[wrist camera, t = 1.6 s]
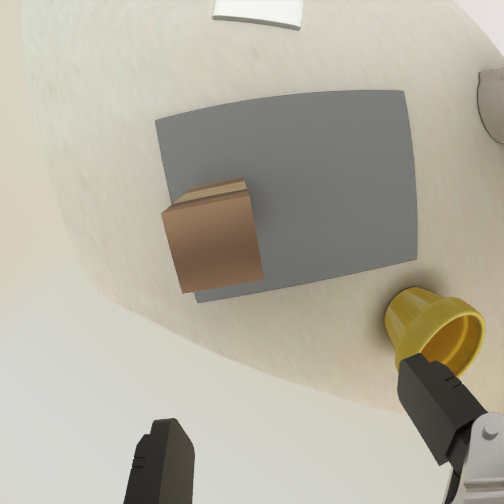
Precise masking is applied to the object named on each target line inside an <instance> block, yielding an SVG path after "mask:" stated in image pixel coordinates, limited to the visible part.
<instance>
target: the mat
mask: <svg viewBox="0 0 504 504" xmlns="http://www.w3.org/2000/svg"><path fill="white" fill-rule="evenodd" d="M155 124H156V129H157V135H158V140H159V145H160V151H161V156H162V161H163V166H164V171H165V175H166V180H167V185H168V189H169V194H170V198H171V203H172V204H173V203H174V202H175V201H177V200H178V199H179V198H180V197H181V196H183V195H184V194H185V193H186V192H187V191H189V190H190V189H191V188H192V187H195V186H200V185H204V184H209V183H214V182H219V181H224V180H229V179H235V178H240V177H243V178H244V181H245V184H246V187H247V190H248V193H249V196H250V201H251V207H252V212H253V218H254V224H255V229H256V235H257V240H258V246H259V252H260V257H261V263H262V269H263V274H264V279H263V280H258V281H253V282H247V283H241V284H236V285H230V286H225V287H219V288H213V289H207V290H201V291H195V292H194V293H195V297H196V301H197V303H202V302H208V301H214V300H220V299H226V298H231V297H237V296H243V295H248V294H254V293H259V292H265V291H270V290H275V289H281V288H286V287H291V286H296V285H301V284H306V283H311V282H316V281H321V280H326V279H331V278H336V277H340V276H345V275H350V274H354V273H359V272H363V271H368V270H372V269H377V268H381V267H386V266H390V265H394V264H398V263H403V262H407V261H411V260H415V259H417V196H416V180H415V167H414V156H413V147H412V139H411V131H410V124H409V118H408V112H407V106H406V100H405V95H404V91H397V90H352V91H329V92H314V93H302V94H292V95H283V96H275V97H267V98H260V99H253V100H247V101H240V102H235V103H229V104H223V105H218V106H213V107H208V108H203V109H199V110H194V111H190V112H186V113H181V114H177V115H173V116H169V117H166V118H162V119H158V120H155Z"/></svg>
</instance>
